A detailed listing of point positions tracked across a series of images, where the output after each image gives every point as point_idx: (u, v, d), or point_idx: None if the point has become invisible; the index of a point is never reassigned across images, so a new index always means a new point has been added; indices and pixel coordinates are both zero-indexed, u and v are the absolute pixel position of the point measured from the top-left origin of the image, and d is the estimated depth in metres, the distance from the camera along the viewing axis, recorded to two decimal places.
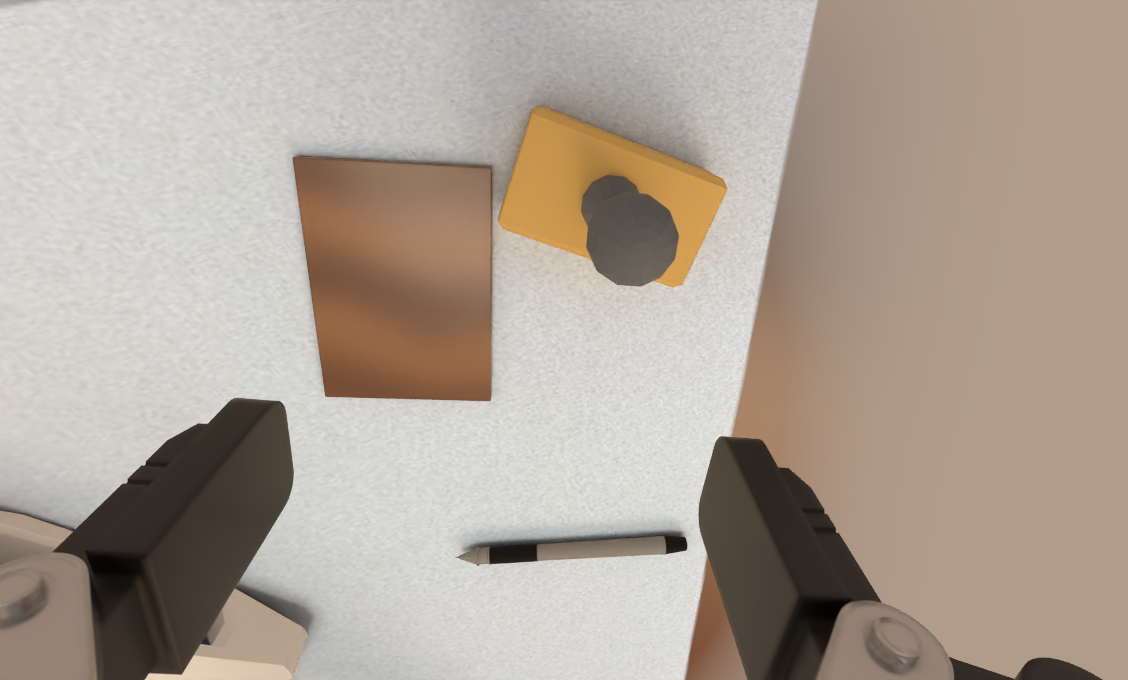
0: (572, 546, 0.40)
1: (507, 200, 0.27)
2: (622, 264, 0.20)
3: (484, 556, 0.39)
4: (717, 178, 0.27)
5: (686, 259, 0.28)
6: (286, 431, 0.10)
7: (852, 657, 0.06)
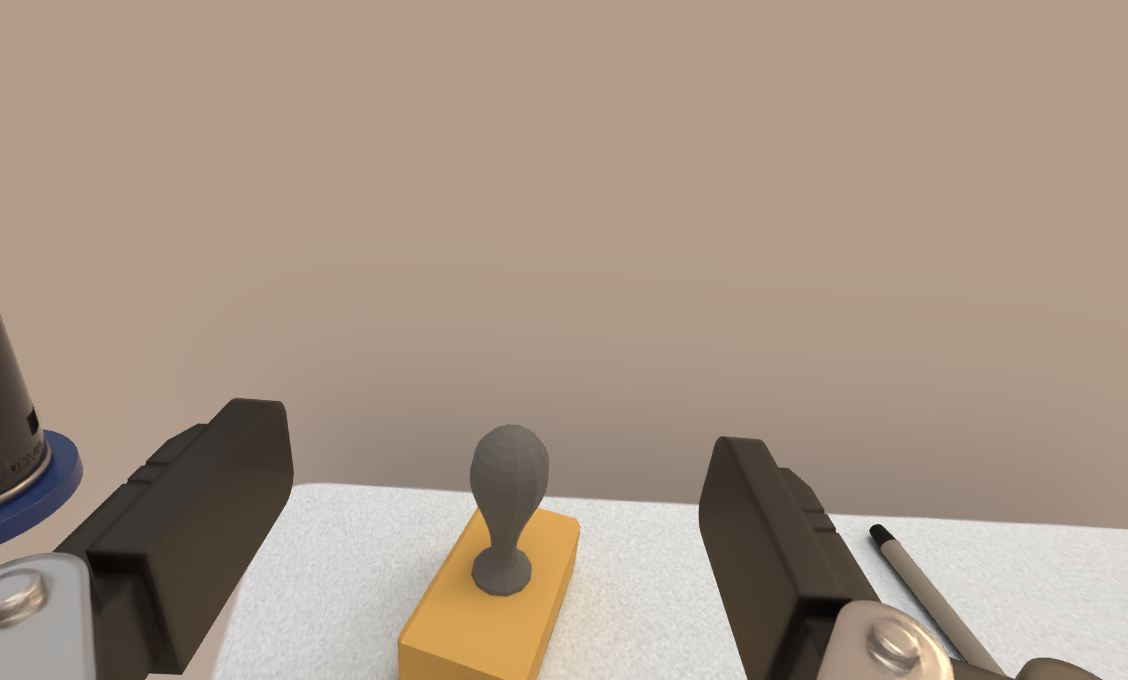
0: (958, 639, 0.30)
1: (491, 671, 0.23)
2: (522, 444, 0.23)
3: None
4: None
5: (552, 515, 0.31)
6: (286, 431, 0.10)
7: (852, 657, 0.06)
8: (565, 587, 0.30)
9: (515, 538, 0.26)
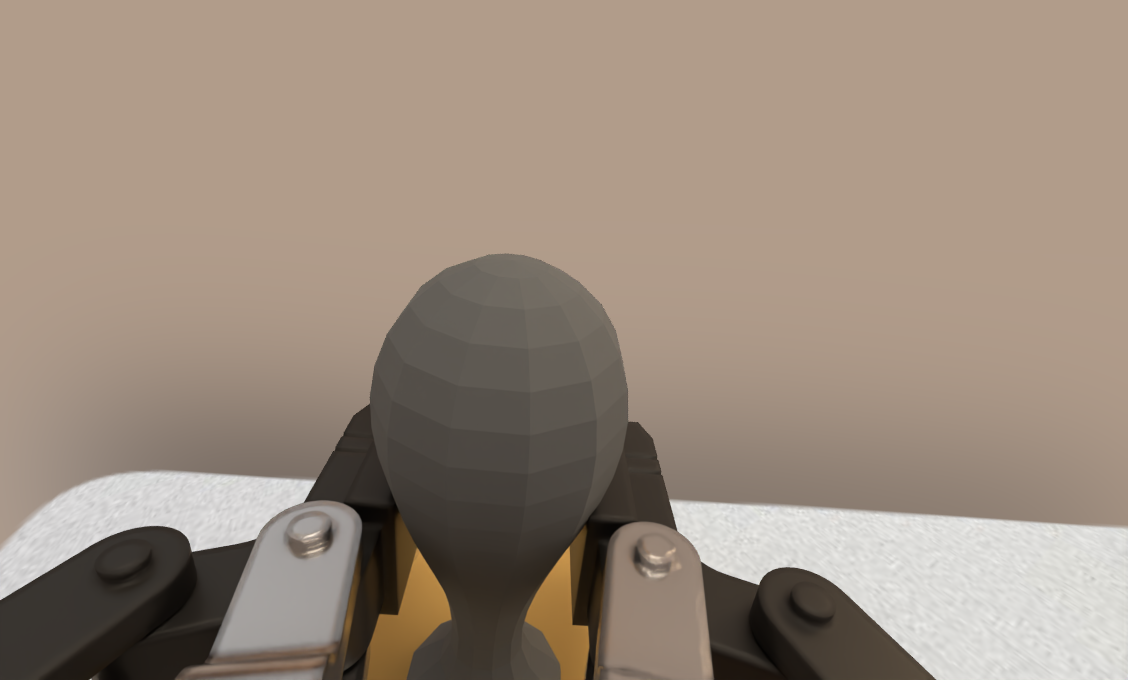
0: None
1: None
2: (544, 295, 0.06)
3: None
4: None
5: None
6: None
7: (625, 581, 0.07)
8: None
9: (520, 611, 0.09)
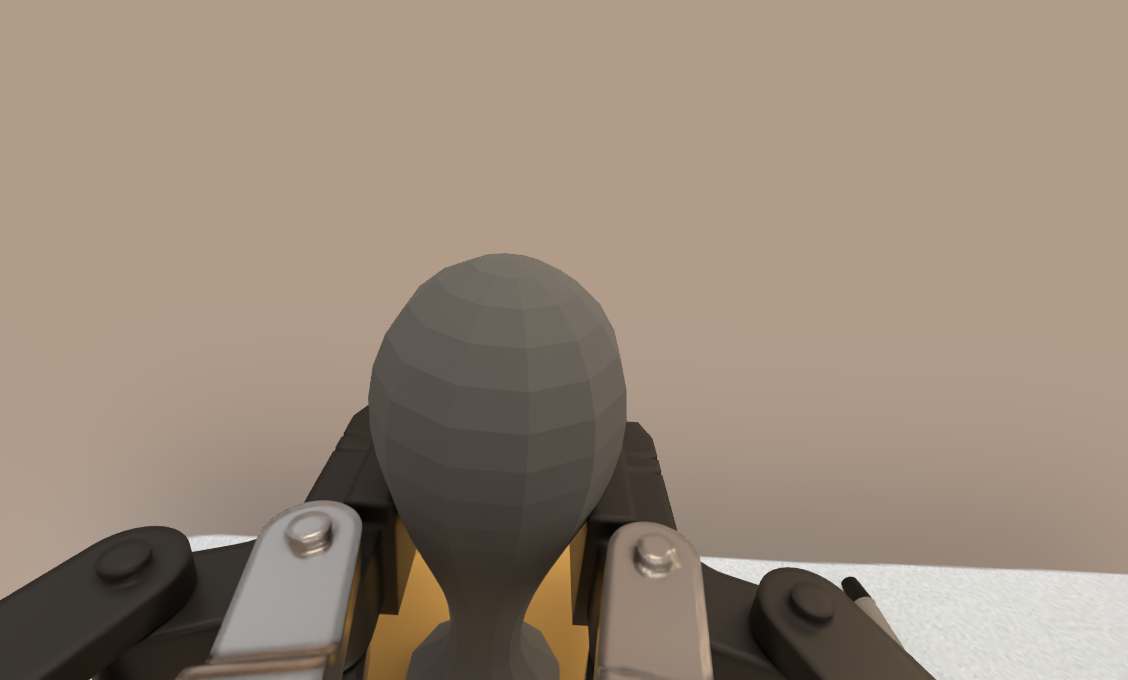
0: None
1: None
2: (542, 295, 0.06)
3: None
4: None
5: None
6: None
7: (625, 581, 0.07)
8: None
9: (518, 611, 0.09)
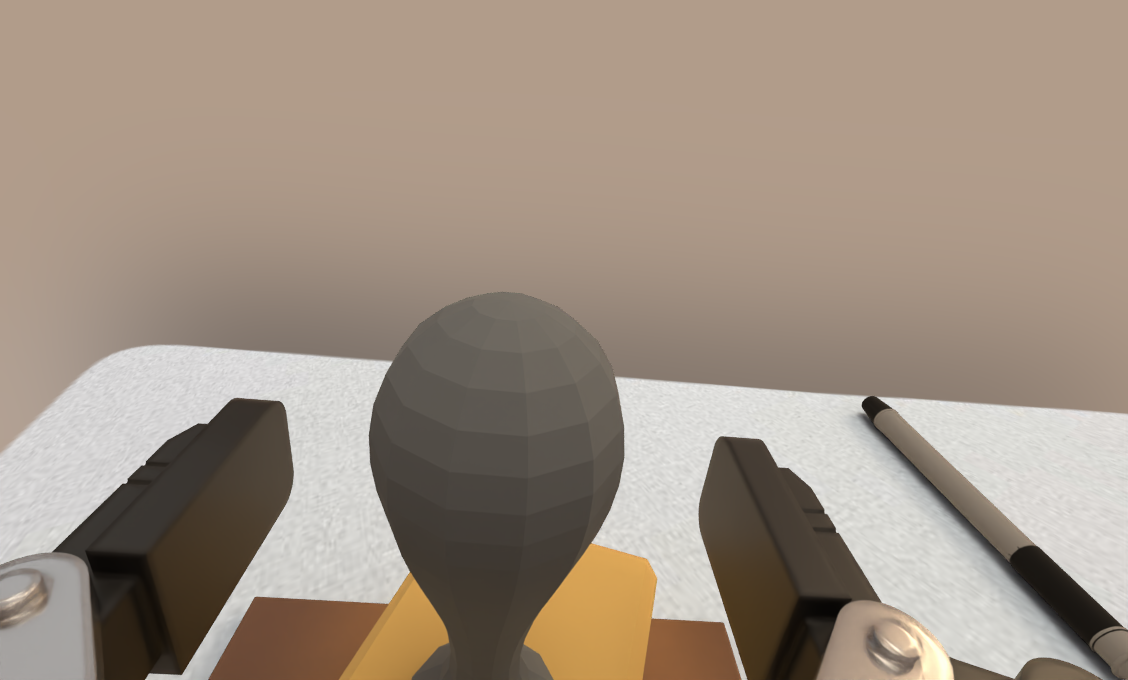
0: (966, 504, 0.23)
1: None
2: (541, 337, 0.07)
3: (1115, 640, 0.17)
4: None
5: (594, 551, 0.14)
6: (286, 431, 0.10)
7: (852, 657, 0.06)
8: None
9: (518, 640, 0.09)
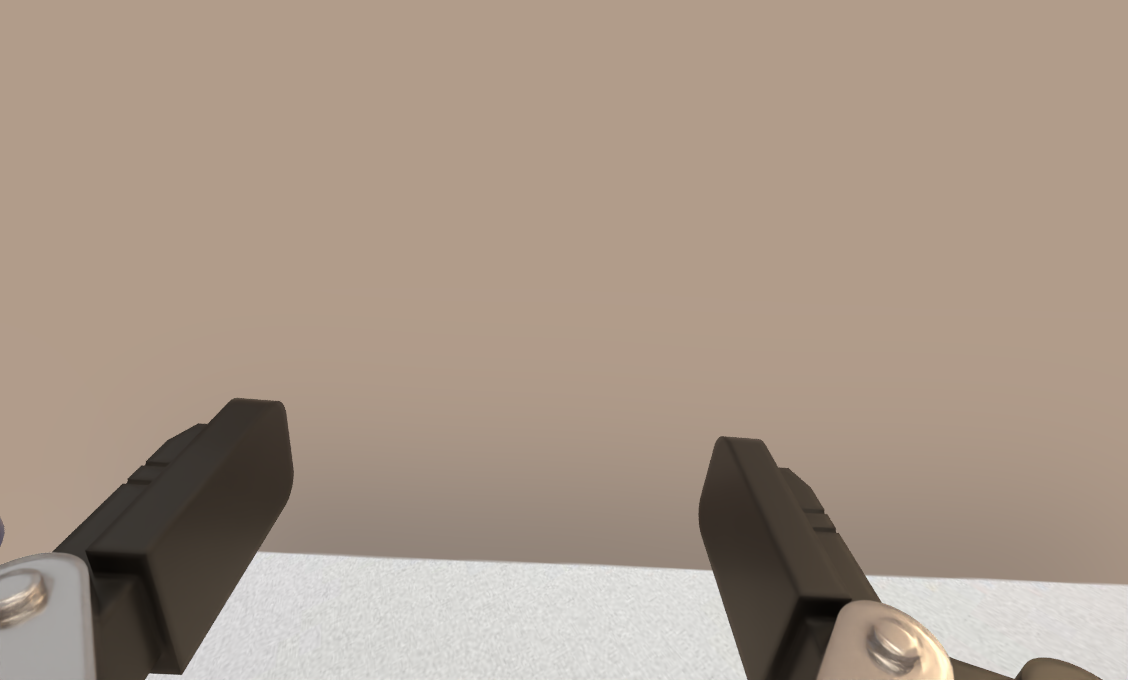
0: None
1: None
2: None
3: None
4: None
5: None
6: (286, 431, 0.10)
7: (852, 657, 0.06)
8: None
9: None
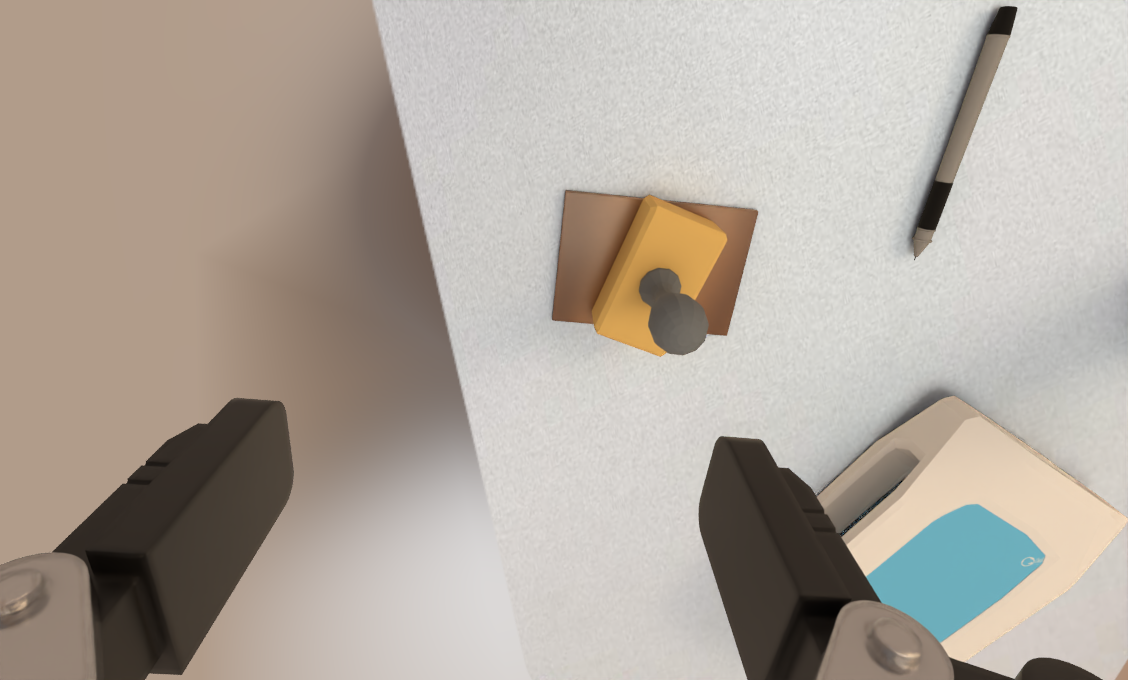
0: (952, 143, 0.38)
1: (648, 350, 0.41)
2: (690, 347, 0.32)
3: (923, 233, 0.41)
4: (649, 213, 0.37)
5: (706, 234, 0.37)
6: (286, 431, 0.10)
7: (851, 657, 0.06)
8: None
9: None
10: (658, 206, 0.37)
